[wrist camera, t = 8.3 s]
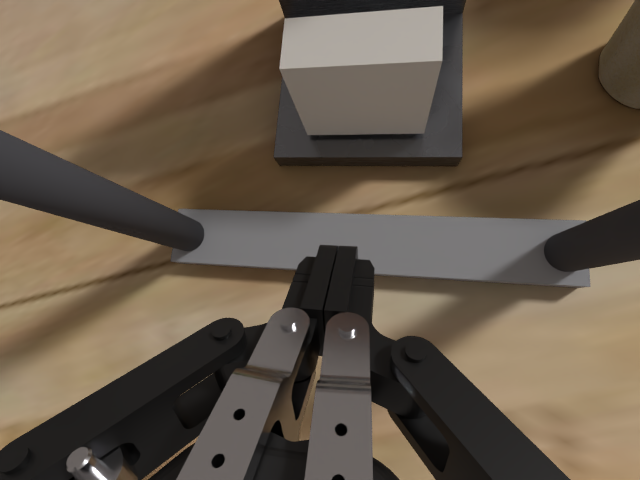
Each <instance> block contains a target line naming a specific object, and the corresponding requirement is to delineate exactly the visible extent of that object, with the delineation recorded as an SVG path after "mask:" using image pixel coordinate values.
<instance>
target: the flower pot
mask: <svg viewBox="0 0 640 480" xmlns="http://www.w3.org/2000/svg"><path fill="white" fill-rule="evenodd" d="M599 79H600V82H601V84H602V85H603V87H604V89H605V90H606V91H607V92H608V93H609V94H610V95H611V96H612V97H613V98H614V99H616V100H617V101H619V102H620V103H622V104H624V105H626V106H629V107H632V108H636V109H638V108H640V0H635V2H634V3H633V5H632V6H631V8H630V9H629V11H628V12H627V14H626V16H625V17H624V19H623V20H622V22H621V23H620V25H619V26H618V28H617V30H616V31H615V33H614V34H613V36H612V37H611V39H610V40H609V42H608V43H607V45H606V46H605V47H604V49H603V50H602V52H601V55H600V61H599Z"/></svg>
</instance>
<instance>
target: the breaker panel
mask: <svg viewBox="0 0 640 480" xmlns="http://www.w3.org/2000/svg"><path fill="white" fill-rule="evenodd" d="M279 2H280V5H281V8H282V11H283V14H284V17H285V18H298V17H310V16H323V15H335V14H348V13H360V12H373V11H385V10H398V9H410V8H423V7H436V6H443V54H442V64H441V68H440V72H439V76H438V80H437V84H436V88H435V92H434V96H433V100H432V104H431V108H430V112H429V116H428V120H427V124H426V128H425V132H424V134H357V135H307V133H306V130H305V128H304V126H303V123H302V121H301V119H300V116H299V114H298V112H297V109H296V107H295V105H294V102H293V100H292V98H291V95H290V93H289V91H288V88H287V86H286V84H285V81H284V79H283V77H282V84H281V94H280V103H279V112H278V122H277V131H276V141H275V150H274V158H275V160H276V161H277V163H278V164H279V165H280V166H458V164H459V162H460V160H461V158H462V13H463V10H464V6H465V2H466V0H279Z"/></svg>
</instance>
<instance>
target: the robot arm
mask: <svg viewBox="0 0 640 480" xmlns="http://www.w3.org/2000/svg"><path fill="white" fill-rule="evenodd" d="M374 271H375V268H374V267H373V265H372V263H371V261H370V260H364V259H358V247H357V246H339V247H338V246H336V245H320V246H319V249H318V252H317V255H316V257H310V256H306V257H305V258H304V259H303V260H302V261H301V262H300V263H299V264H298V267H297V270H296V272H295V275H294V278H293V282H292V283H291V286H290V289H289V291H288V294H287V297H286V299H285V302H284V305H283V308H282V309H281V310H279V311H277V312H276V313H274V314H273V315H272V316H271V318H270V319H269V321H268V323H265V324H262V325H257V326H252V327H246V328H244V327H243V324H242V323H241V322H240V321H239V320H237V319H234V318H222V319H219V320H216V321H214V322H212V323H211V324H209V325H207V326H206V327H204V328H202V329H201V330H199V331H197V332H195V333H194V334H192V335H190V336H189V337H187V338H185V339H184V340H182V341H180V342H179V343H177V344H175V345H174V346H172V347H170V348H169V349H167V350H165V351H163V352H162V353H160V354H158V355H157V356H155V357H153V358H152V359H150V360H148V361H147V362H145V363H143V364H142V365H140V366H138V367H137V368H135V369H133V370H131V371H130V372H128V373H126V374H125V375H123V376H121V377H120V378H118V379H116V380H115V381H113V382H111V383H110V384H108V385H106V386H104V387H103V388H101V389H99V390H98V391H96V392H94V393H93V394H91V395H89V396H88V397H86V398H84V399H83V400H81V401H79V402H78V403H76V404H74V405H72V406H71V407H69V408H67V409H66V410H64V411H62V412H61V413H59V414H57V415H56V416H54V417H52V418H51V419H49V420H47V421H46V422H44V423H42V424H40V425H39V426H37V427H35V428H34V429H32V430H30V431H29V432H27V433H25V434H24V435H22V436H20V437H19V438H17V439H15V440H14V441H12V442H11V443H9V444H8V445H7V446H5V447H4V448H3V449H2V450H1V451H0V480H141V479H143V478H144V477H145V476H147V475H148V474H149V473H151V472H152V471H153V470H154V469H156V468H157V467H158V466H160V465H161V464H162V463H164V462H165V461H166V460H168V459H169V458H170V457H171V456H173V455H174V454H175V453H177V452H178V451H179V450H181V449H182V448H183V447H184V446H186V445H187V444H188V443H190V442H191V441H192V440H194V439H195V438H196V437H197V436H199V437H198V439H197V441H196V443H194V444H192V445H191V446H189V447H188V448H186V449H185V450H184V451H183V452H181V453H180V454H179V455H178V456H176V457H175V458H174V459H173V460H172V461H170V462H169V463H168V464H167V465H165V466H164V467H163V468H162V469H161V470H159V471H158V472H157V473H156V474H154V475H153V476H152V477H151V478H149V479H148V480H399V479H398V477H397V476H396V475H395V474H394V473H393V472H392V471H391V470H390V469H388V468H387V467H386V466H385V465H384V464H382V463H381V462H379V461H378V460H376V459H375V458H373V457H372V410H371V401H372V402H374V403H376V404H378V405H380V406H382V407H384V408H386V409H387V410H388V413H389V415H390V417H391V418H392V420H393V421H394V422H395V424H396V425H397V426H398V428H399V429H400V431H401V432H402V433H403V435H404V436H405V438H406V439H407V440H408V442H409V443H410V445H411V446H412V447H413V449H414V450H415V451H416V453H417V454H418V456H419V457H420V458H421V460H422V461H423V463H424V464H425V465H426V467H427V468H428V470H429V471H430V472H431V474H432V475H433V476H434V478H435V479H436V480H570V479H569V478H568V477H567V476H566V475H565V474H564V473H563V472H562V471H561V470H560V469H559V468H558V467H557V466H556V465H555V464H554V463H553V462H552V461H551V460H550V459H549V458H548V457H547V456H546V455H545V454H544V453H543V452H542V451H541V450H540V449H539V448H538V447H537V446H536V445H535V444H534V443H532V442H531V441H530V440H529V439H528V438H527V437H526V436H525V435H524V434H523V433H522V432H521V431H520V430H519V429H518V428H517V427H516V426H515V425H514V424H513V423H512V422H511V421H510V420H509V419H508V418H507V417H506V416H505V415H504V414H503V413H502V412H501V411H500V410H499V409H498V408H497V407H496V406H495V405H494V404H493V403H492V402H491V401H490V400H489V399H488V398H487V397H486V396H485V395H484V394H483V393H482V392H481V391H480V390H479V389H478V388H477V387H476V386H475V385H474V384H473V383H472V382H471V381H469V380H468V379H467V378H466V377H465V376H464V375H463V374H462V373H461V372H460V371H459V370H458V369H457V368H456V367H455V366H454V365H453V364H452V363H451V362H450V361H449V360H448V359H447V358H446V357H445V356H444V355H443V354H442V353H441V352H440V351H439V350H438V349H437V348H436V347H435V346H434V345H433V344H432V343H430V342H429V341H427V340H425V339H423V338H420V337H416V336H407V337H403V338H400V339H399V340H397V341H395V340H392V339H390V338H387V337H385V336H383V335H382V334H380V333H379V332H378V331H377V330H376V329H375V328H374V326H373V324H372V313H373V300H374ZM318 356H323V357H322V365H321V374H320V380H318V381H317V385H316V390H315V398H314V407H313V415H312V423H311V431H310V439H309V440H304V441H299V432H300V426H301V422H302V419H303V416H304V412H305V409H306V406H307V402H308V399H309V396H310V392H311V389H312V386H313V382H314V379H315V375H316V370H315V368H316V365H317V360H318ZM212 373H213V374H212ZM209 375H210V376H209ZM206 377H207V378H206ZM205 378H206V379H205ZM203 379H204V380H203ZM202 380H203V381H202ZM200 381H201V382H200ZM199 382H200V383H199ZM197 383H198V384H197ZM196 384H197V385H196ZM194 385H195V386H194ZM193 386H194V387H193ZM191 387H192V388H191ZM190 388H191V389H190ZM188 389H189V390H188ZM187 390H188V391H187ZM184 392H185V393H184ZM181 394H182V395H181ZM180 395H181V396H180Z"/></svg>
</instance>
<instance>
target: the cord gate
mask: <svg viewBox="0 0 640 480" xmlns="http://www.w3.org/2000/svg"><path fill="white" fill-rule="evenodd" d="M0 200H4V201H8V202H11V203H15V204H18V205H22V206H25V207H29V208H33V209H36V210H40V211H43V212H47V213H51V214H54V215H58V216H61V217H65V218H68V219H72V220H76V221H79V222H83V223H86V224H90V225H93V226H97V227H101V228H104V229H108V230H111V231H115V232H118V233H122V234H126V235H129V236H133V237H136V238H140V239H144V240H147V241H151V242H154V243H158V244H161V245H165V246H169V247H172V248H173V249H172V255H171V261H172V262H176V263H184V264H200V265H217V266H233V267H249V268H266V269H282V270H297V267H298V264H299V263H300V262H301V261H302V260H303V259H304V258H305V257H306V256H310V257H316V255H317V252H318V249H319V246H320V245H336V246H338V247H339V246H357V247H358V259H364V260H370V261H371V263H372V265H373V267H374V268H375V271H374V275H380V276H396V277H412V278H429V279H445V280H461V281H477V282H494V283H510V284H526V285H543V286H559V287H575V288H581V287H590V273H589V268H595V267H601V266H606V265H612V264H617V263H623V262H629V261H634V260H640V200H638V201H636V202H633V203H631V204H628V205H626V206H623V207H621V208H618V209H616V210H614V211H611V212H609V213H606V214H604V215H601V216H599V217H596V218H594V219H592V220H589V221H587V222H586V221H582V220H547V219H513V218H478V217H444V216H409V215H374V214H340V213H305V212H270V211H236V210H201V209H179V210H178V212H177V211H174V210H172V209H170V208H168V207H166V206H164V205H161V204H159V203H157V202H155V201H153V200H151V199H148V198H146V197H144V196H142V195H140V194H138V193H135V192H133V191H131V190H129V189H127V188H125V187H122V186H120V185H118V184H116V183H114V182H112V181H109V180H107V179H105V178H103V177H101V176H99V175H96V174H94V173H92V172H90V171H88V170H86V169H83V168H81V167H79V166H77V165H75V164H73V163H70V162H68V161H66V160H64V159H62V158H60V157H57V156H55V155H53V154H51V153H49V152H47V151H44V150H42V149H40V148H38V147H36V146H34V145H31V144H29V143H27V142H25V141H23V140H21V139H18V138H16V137H14V136H12V135H10V134H8V133H5V132H3V131H1V130H0Z"/></svg>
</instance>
